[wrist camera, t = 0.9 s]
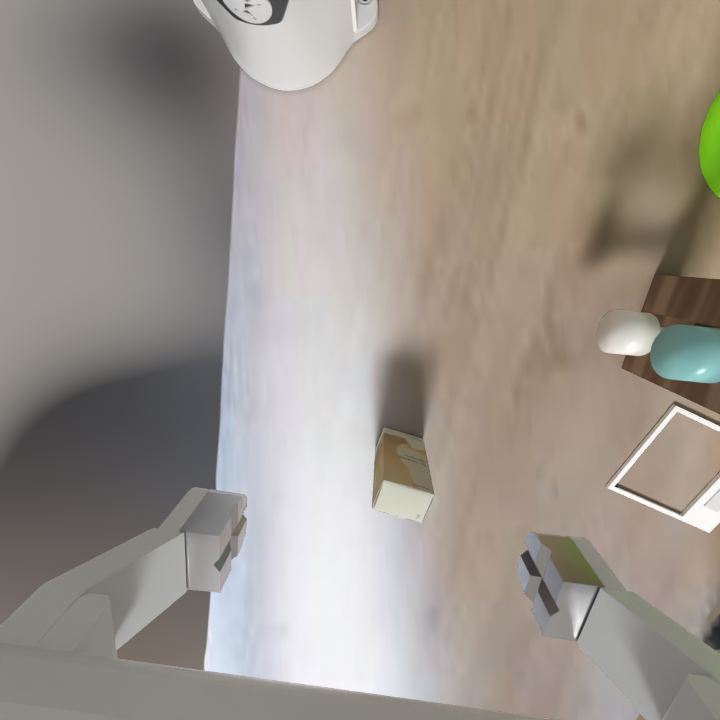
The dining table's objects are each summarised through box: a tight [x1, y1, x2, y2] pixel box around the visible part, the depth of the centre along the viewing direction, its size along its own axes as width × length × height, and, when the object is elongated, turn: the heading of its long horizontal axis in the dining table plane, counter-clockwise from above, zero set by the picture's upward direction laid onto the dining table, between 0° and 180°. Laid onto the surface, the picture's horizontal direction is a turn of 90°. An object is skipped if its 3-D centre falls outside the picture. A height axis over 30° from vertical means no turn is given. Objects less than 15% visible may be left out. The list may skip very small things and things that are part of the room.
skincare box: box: [372, 427, 434, 523], centre depth 44 cm, size 6×4×12 cm
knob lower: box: [596, 309, 665, 356], centre depth 34 cm, size 13×4×4 cm, turn 84°
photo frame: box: [606, 404, 720, 533], centre depth 48 cm, size 15×1×18 cm
